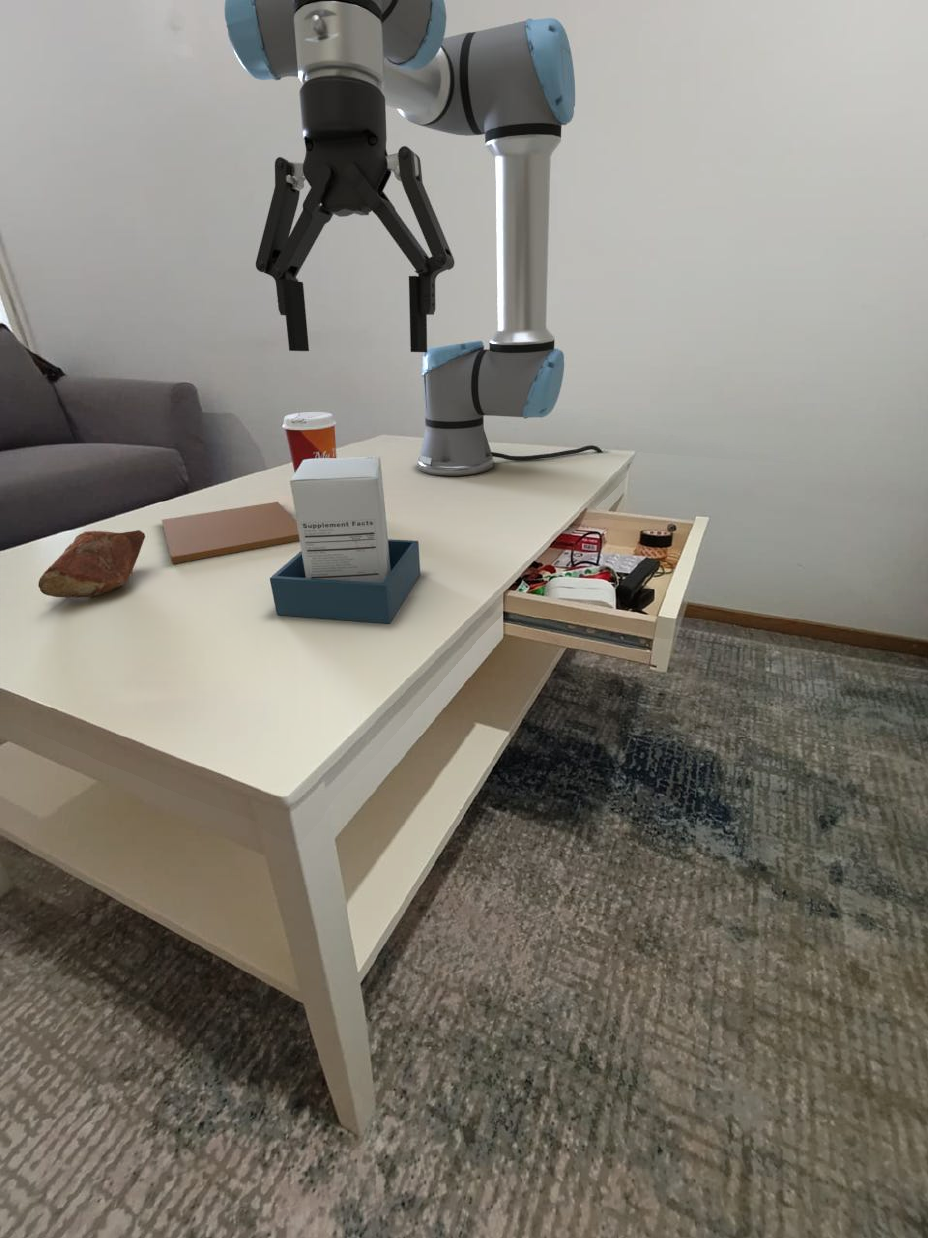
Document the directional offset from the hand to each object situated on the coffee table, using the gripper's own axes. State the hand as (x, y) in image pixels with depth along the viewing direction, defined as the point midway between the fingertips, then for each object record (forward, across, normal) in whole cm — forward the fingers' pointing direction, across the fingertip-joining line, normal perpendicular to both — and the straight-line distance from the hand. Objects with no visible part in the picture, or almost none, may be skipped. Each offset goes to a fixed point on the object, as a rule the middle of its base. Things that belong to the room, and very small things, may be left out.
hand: (357, 351), depth 61 cm
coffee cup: (+24, -21, +26) cm, 41 cm away
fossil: (+27, -31, -9) cm, 42 cm away
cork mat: (+25, -29, +12) cm, 40 cm away
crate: (+26, -1, -3) cm, 26 cm away
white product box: (+26, -1, -3) cm, 26 cm away
